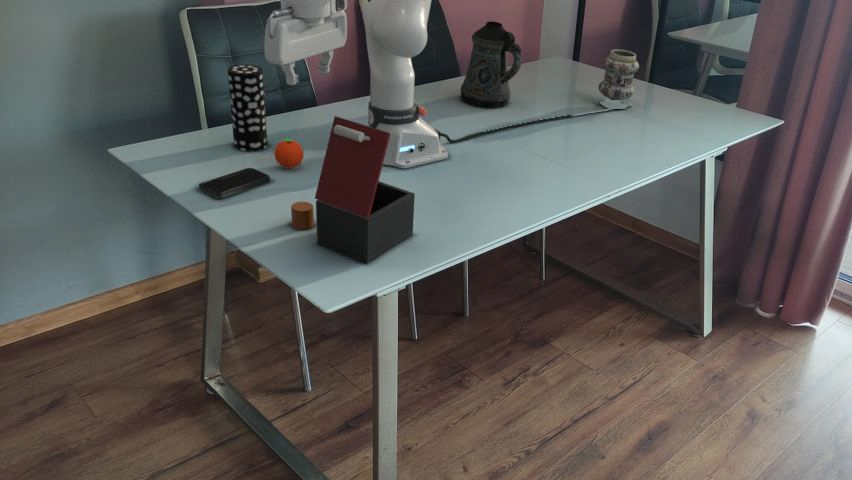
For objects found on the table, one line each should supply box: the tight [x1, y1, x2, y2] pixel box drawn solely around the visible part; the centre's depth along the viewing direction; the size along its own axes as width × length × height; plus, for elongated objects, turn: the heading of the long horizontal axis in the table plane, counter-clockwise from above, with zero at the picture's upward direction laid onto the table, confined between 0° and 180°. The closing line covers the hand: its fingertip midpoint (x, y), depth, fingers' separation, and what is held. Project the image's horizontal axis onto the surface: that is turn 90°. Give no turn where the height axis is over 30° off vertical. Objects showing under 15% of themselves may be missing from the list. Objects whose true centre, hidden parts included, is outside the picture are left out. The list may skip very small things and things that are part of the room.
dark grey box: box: [315, 180, 416, 265], centre depth 158 cm, size 16×13×10 cm
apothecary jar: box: [598, 48, 640, 101], centre depth 254 cm, size 12×12×18 cm
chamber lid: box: [314, 115, 391, 218], centre depth 146 cm, size 17×13×5 cm
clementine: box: [274, 138, 304, 169], centre depth 187 cm, size 8×7×7 cm
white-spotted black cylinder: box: [227, 63, 268, 152], centre depth 193 cm, size 8×8×20 cm
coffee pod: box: [290, 201, 315, 231], centre depth 163 cm, size 5×5×4 cm
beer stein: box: [460, 21, 524, 109], centre depth 243 cm, size 16×19×25 cm
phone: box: [198, 167, 271, 200], centre depth 177 cm, size 8×1×15 cm
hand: (308, 78), depth 145 cm, fingers open, 8 cm apart
